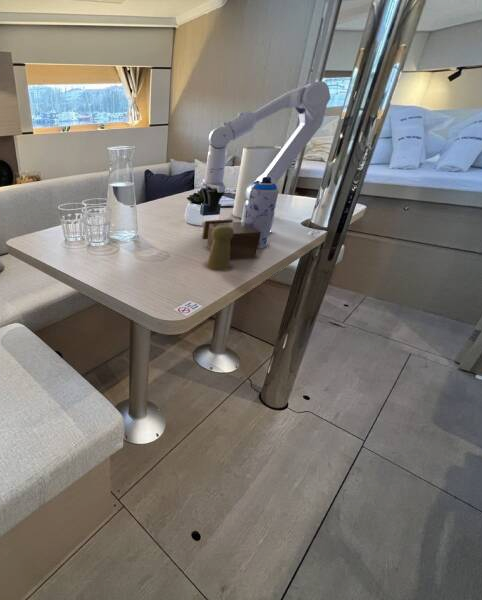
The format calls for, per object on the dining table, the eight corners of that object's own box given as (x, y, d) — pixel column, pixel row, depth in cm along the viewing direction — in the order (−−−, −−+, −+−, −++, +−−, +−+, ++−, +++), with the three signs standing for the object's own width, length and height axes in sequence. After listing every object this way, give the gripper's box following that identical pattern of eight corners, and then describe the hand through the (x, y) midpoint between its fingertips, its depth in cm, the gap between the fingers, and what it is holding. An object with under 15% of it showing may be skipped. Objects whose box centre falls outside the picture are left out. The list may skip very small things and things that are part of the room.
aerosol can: (243, 238, 105) (255, 174, 95) (269, 242, 101) (284, 175, 91) (237, 245, 100) (249, 178, 90) (264, 249, 95) (280, 180, 86)
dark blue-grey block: (216, 212, 113) (217, 202, 111) (219, 214, 110) (221, 204, 108) (199, 213, 112) (200, 203, 111) (202, 215, 110) (204, 205, 108)
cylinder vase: (264, 212, 131) (279, 145, 119) (267, 220, 121) (283, 148, 109) (232, 211, 135) (243, 146, 123) (232, 218, 125) (243, 149, 113)
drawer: (196, 233, 109) (198, 217, 106) (222, 232, 109) (224, 215, 106) (213, 248, 96) (216, 229, 93) (242, 246, 96) (245, 227, 94)
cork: (226, 272, 83) (233, 231, 78) (203, 268, 86) (208, 228, 81) (231, 263, 88) (238, 224, 82) (209, 260, 91) (214, 222, 85)
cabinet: (206, 247, 99) (209, 223, 96) (238, 245, 100) (242, 221, 96) (220, 260, 90) (224, 234, 86) (255, 257, 91) (261, 231, 87)
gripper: (195, 166, 110) (191, 206, 117) (212, 172, 97) (206, 216, 104) (215, 165, 110) (210, 204, 117) (234, 170, 98) (227, 214, 104)
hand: (210, 210), depth 111 cm, fingers closed on dark blue-grey block, 3 cm apart
